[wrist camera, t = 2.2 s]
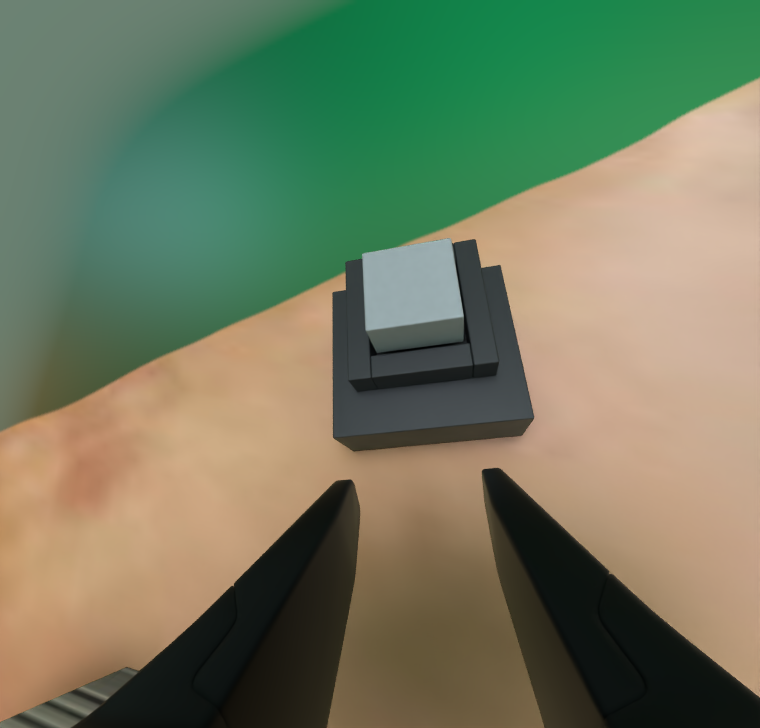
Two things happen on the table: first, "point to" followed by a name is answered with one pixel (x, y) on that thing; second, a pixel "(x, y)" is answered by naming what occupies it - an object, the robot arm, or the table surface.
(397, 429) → the stepped grey pedestal
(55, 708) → the can
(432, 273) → the pad
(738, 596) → the table surface
